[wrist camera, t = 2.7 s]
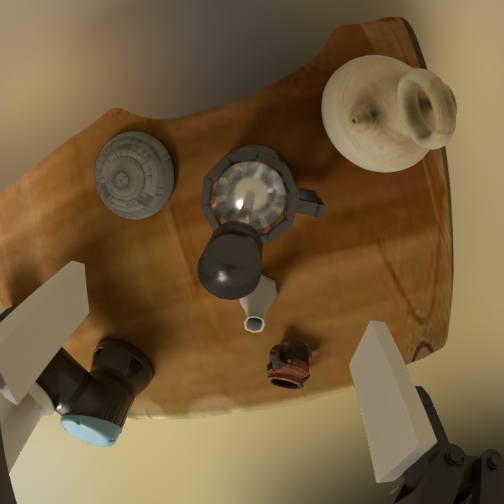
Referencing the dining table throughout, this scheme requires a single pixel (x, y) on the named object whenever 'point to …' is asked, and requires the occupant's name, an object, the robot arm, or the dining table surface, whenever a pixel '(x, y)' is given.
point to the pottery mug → (289, 365)
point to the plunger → (240, 229)
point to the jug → (387, 113)
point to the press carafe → (295, 197)
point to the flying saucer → (134, 175)
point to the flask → (258, 304)
